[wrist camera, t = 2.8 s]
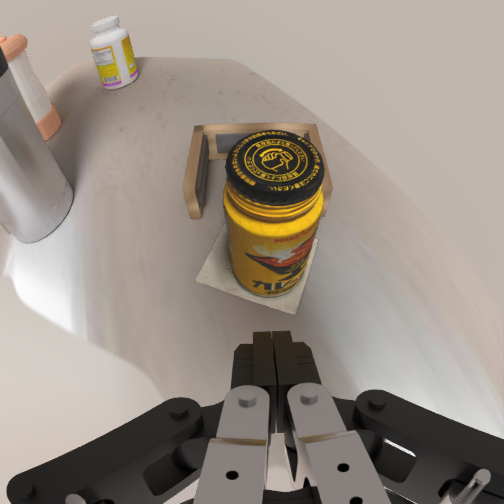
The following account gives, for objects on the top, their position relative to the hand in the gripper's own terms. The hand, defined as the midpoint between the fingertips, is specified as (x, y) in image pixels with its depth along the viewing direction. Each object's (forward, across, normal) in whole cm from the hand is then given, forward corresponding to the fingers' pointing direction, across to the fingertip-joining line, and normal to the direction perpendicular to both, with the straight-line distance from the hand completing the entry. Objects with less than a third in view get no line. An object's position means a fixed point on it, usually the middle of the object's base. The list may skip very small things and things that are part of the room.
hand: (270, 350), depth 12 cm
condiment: (+14, 0, 0) cm, 14 cm away
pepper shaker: (+31, +34, -17) cm, 49 cm away
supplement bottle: (+39, +23, -26) cm, 52 cm away
